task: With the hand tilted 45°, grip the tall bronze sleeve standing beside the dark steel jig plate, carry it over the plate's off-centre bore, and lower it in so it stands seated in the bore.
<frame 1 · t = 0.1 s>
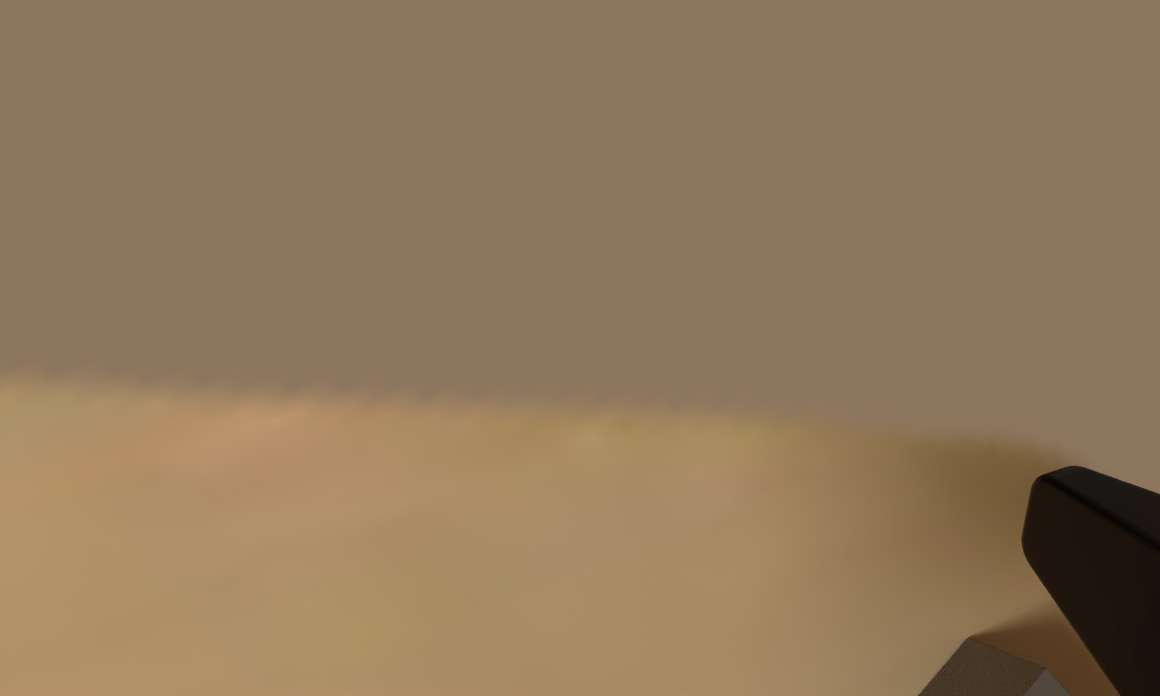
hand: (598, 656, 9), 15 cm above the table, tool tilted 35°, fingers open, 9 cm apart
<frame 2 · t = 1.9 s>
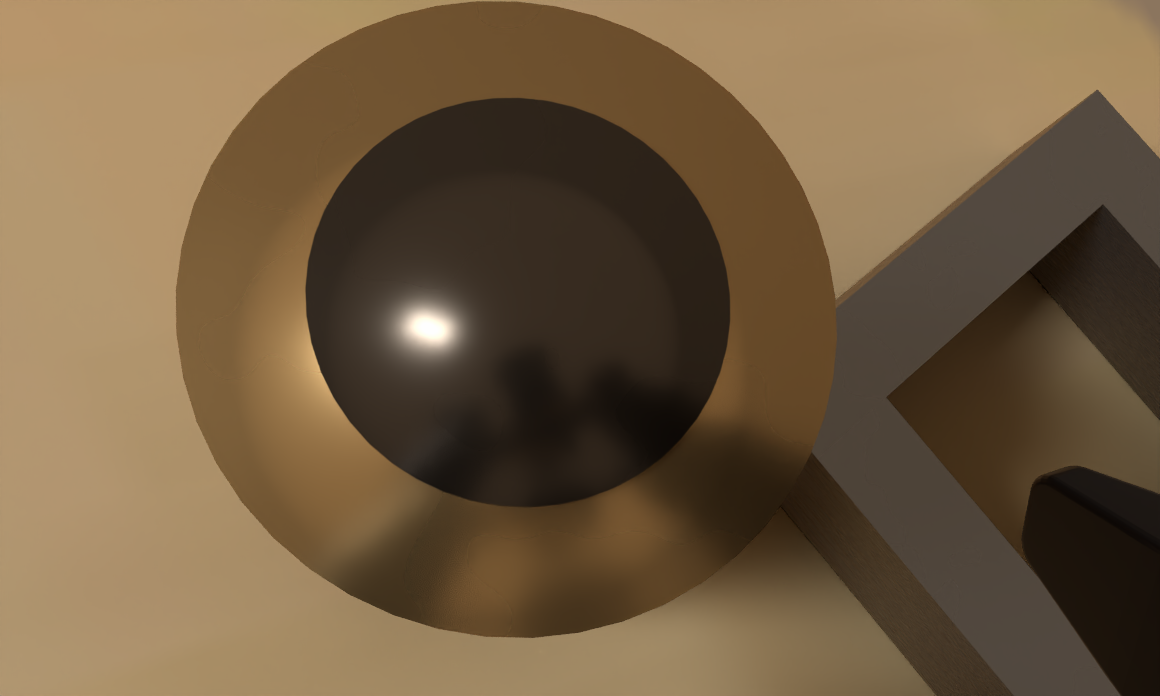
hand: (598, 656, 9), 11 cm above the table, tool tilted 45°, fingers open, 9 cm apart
jig: (1082, 525, 22), on the table
bushing: (448, 486, 20), on the table
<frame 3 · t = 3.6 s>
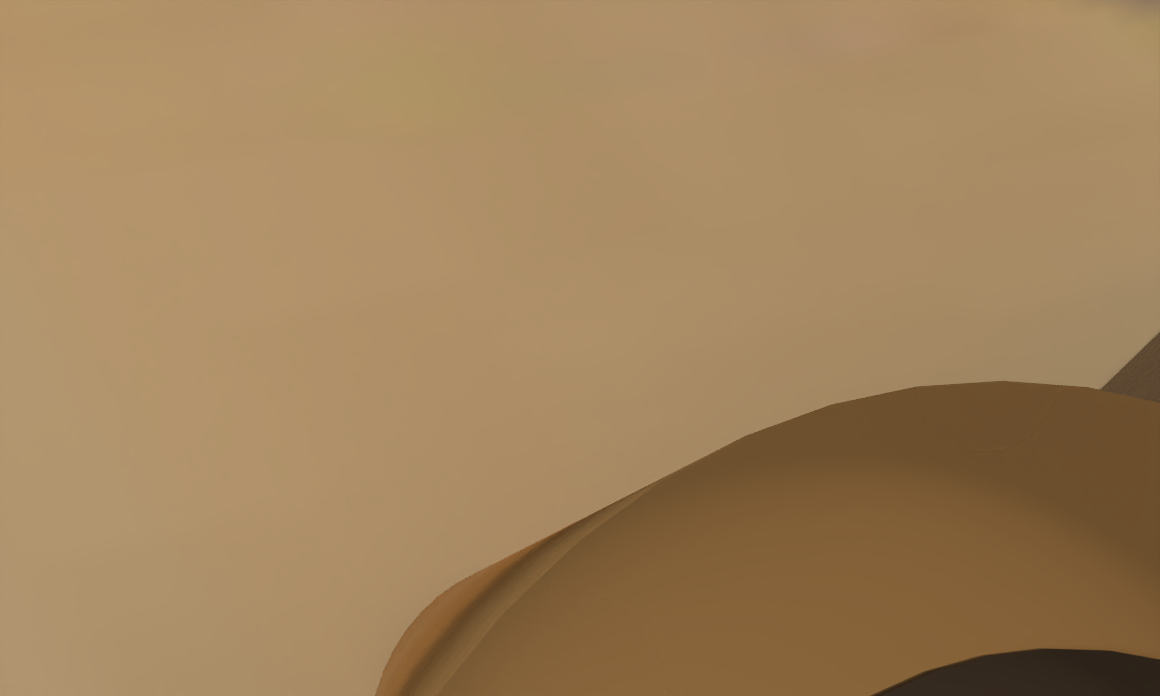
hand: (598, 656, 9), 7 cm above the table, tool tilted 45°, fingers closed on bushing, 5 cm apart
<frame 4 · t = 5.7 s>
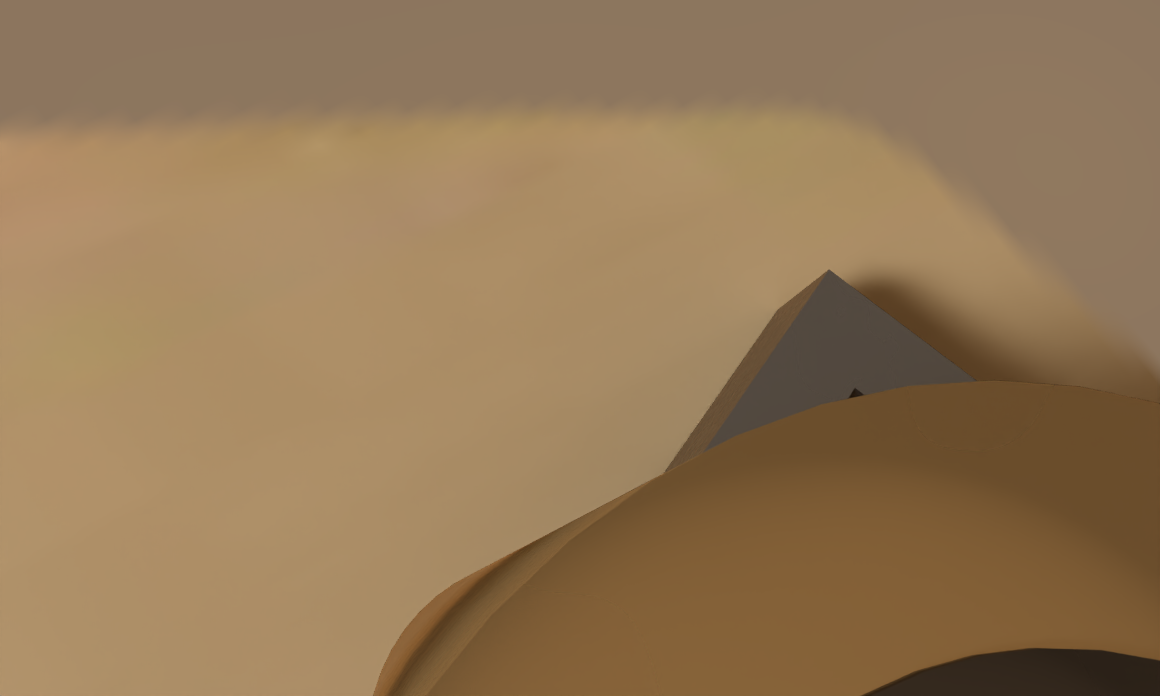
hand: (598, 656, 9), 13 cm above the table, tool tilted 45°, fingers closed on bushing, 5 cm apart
jig: (912, 667, 23), on the table
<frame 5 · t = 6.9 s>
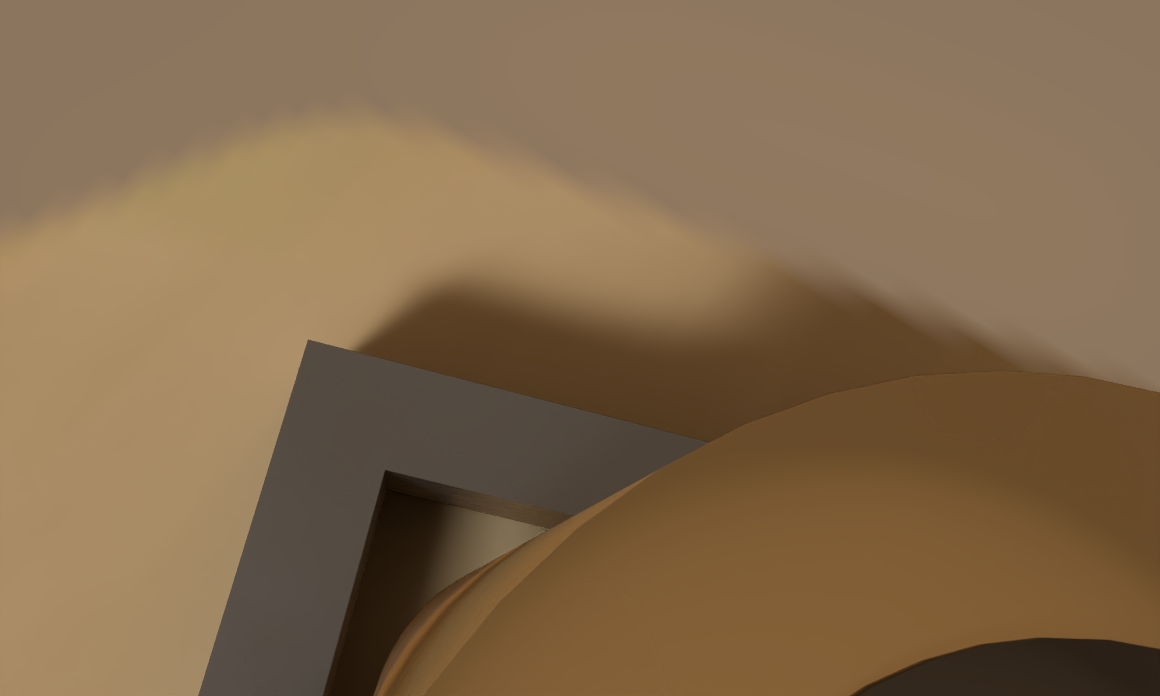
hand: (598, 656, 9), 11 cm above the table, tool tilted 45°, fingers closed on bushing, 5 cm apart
when the fingers open (8 cm above the table, at t = 7.9 s): bushing drops 1 cm, resting in jig.
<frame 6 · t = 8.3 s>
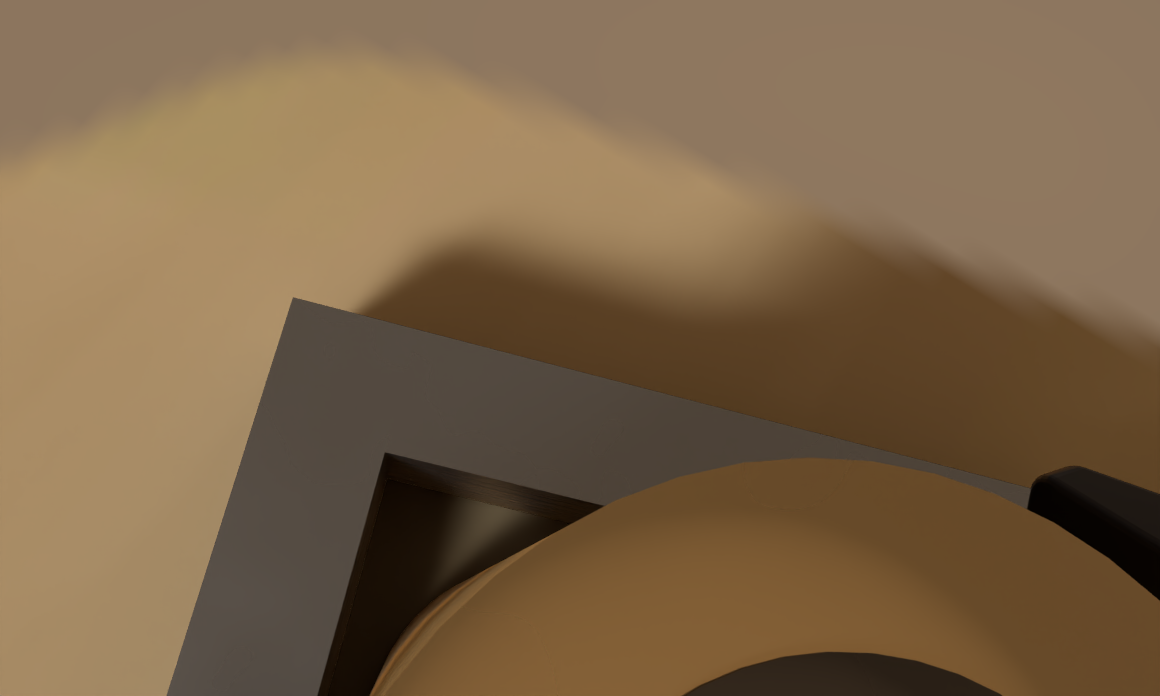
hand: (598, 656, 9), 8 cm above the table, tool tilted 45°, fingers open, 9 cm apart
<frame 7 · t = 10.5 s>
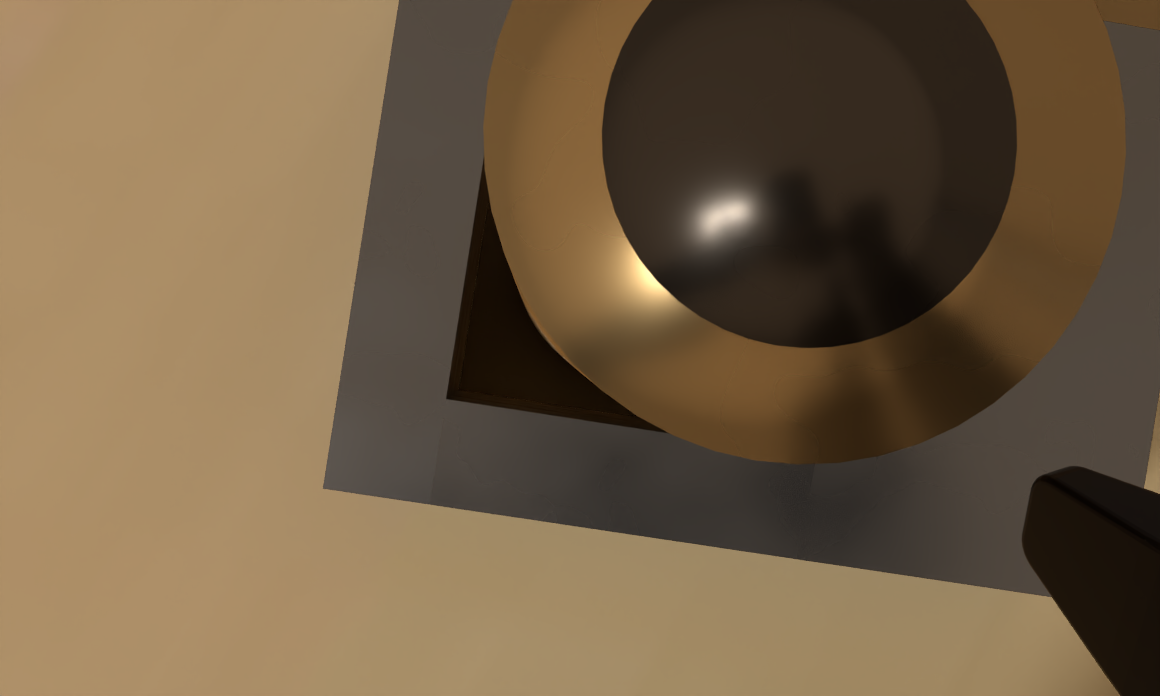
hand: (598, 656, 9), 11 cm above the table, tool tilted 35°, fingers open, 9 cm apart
jig: (741, 271, 20), on the table
bushing: (641, 259, 20), resting in jig
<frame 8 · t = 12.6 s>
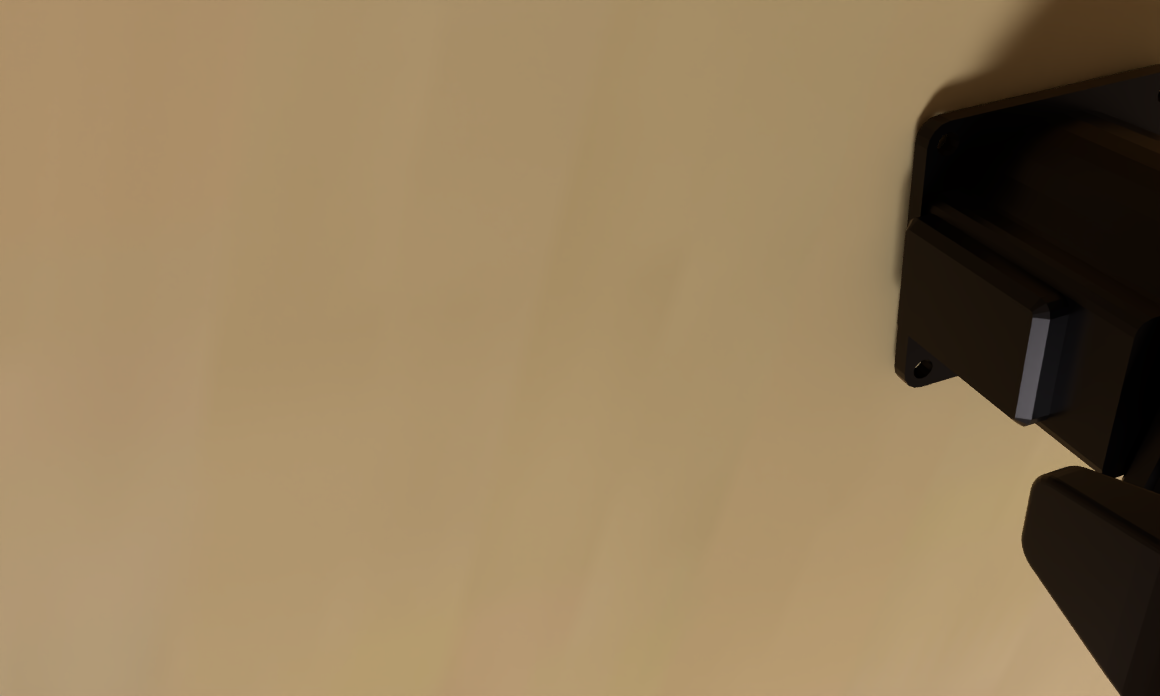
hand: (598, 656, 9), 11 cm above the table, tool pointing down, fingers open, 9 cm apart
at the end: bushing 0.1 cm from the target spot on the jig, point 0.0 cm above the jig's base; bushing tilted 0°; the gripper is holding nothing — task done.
